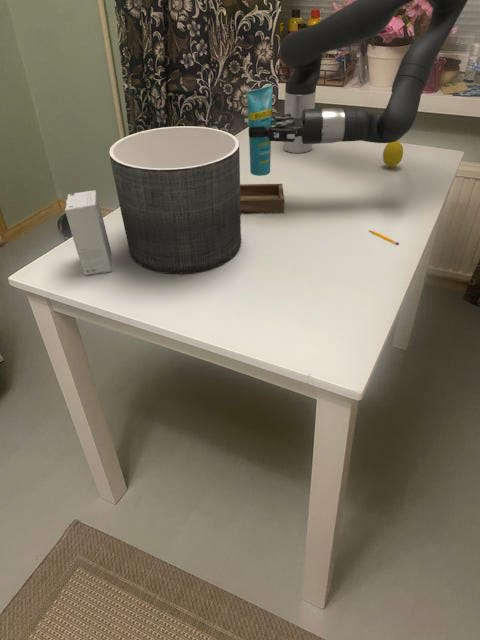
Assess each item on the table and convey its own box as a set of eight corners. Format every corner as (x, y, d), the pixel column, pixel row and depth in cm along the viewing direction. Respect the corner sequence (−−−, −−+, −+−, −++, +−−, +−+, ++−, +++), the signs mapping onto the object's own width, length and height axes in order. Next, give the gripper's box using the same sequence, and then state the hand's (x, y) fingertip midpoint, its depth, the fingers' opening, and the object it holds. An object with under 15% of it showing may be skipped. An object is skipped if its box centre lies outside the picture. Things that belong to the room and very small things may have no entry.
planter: (106, 262, 101) (81, 160, 87) (163, 212, 119) (150, 121, 106) (214, 285, 93) (206, 177, 80) (257, 228, 112) (257, 132, 98)
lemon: (402, 166, 140) (408, 138, 135) (396, 172, 136) (401, 144, 131) (384, 163, 142) (389, 135, 137) (378, 169, 138) (382, 141, 133)
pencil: (396, 246, 104) (397, 243, 103) (366, 232, 109) (367, 229, 109) (398, 245, 104) (399, 242, 104) (368, 231, 110) (369, 228, 109)
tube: (257, 179, 113) (255, 92, 101) (242, 174, 115) (239, 89, 104) (278, 170, 117) (278, 85, 105) (263, 166, 119) (263, 83, 108)
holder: (236, 197, 125) (236, 184, 123) (281, 196, 125) (282, 183, 123) (235, 213, 118) (235, 200, 116) (283, 213, 117) (284, 199, 115)
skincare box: (112, 272, 98) (97, 205, 89) (82, 276, 97) (63, 209, 88) (111, 252, 104) (97, 188, 95) (83, 256, 103) (66, 191, 94)
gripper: (319, 100, 112) (248, 103, 113) (327, 117, 101) (248, 120, 102) (317, 133, 117) (249, 135, 118) (325, 153, 106) (249, 155, 106)
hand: (249, 128), depth 110 cm, fingers closed on tube, 4 cm apart
